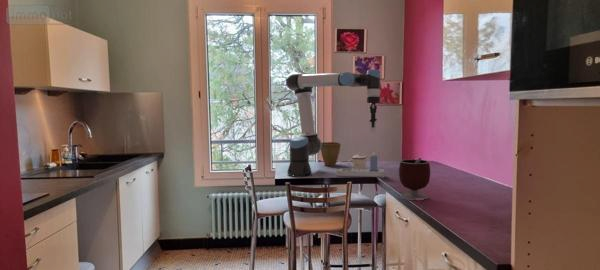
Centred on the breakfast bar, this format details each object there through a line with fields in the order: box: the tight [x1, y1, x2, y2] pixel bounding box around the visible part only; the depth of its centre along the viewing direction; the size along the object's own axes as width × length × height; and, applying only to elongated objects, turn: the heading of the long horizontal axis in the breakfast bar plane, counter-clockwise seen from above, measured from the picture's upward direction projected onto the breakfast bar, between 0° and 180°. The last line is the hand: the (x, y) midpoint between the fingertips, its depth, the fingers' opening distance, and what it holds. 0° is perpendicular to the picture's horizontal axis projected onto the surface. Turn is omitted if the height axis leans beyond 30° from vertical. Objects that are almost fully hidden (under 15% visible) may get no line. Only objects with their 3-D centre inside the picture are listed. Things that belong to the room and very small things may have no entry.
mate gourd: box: [398, 157, 431, 201], centre depth 173 cm, size 16×14×20 cm
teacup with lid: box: [347, 152, 367, 169], centre depth 246 cm, size 12×9×12 cm
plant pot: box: [320, 141, 342, 167], centre depth 269 cm, size 15×15×16 cm
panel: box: [335, 167, 385, 180], centre depth 226 cm, size 28×9×4 cm, turn 78°
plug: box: [369, 152, 378, 171], centre depth 224 cm, size 4×4×13 cm
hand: (373, 132), depth 222 cm, fingers open, 13 cm apart
